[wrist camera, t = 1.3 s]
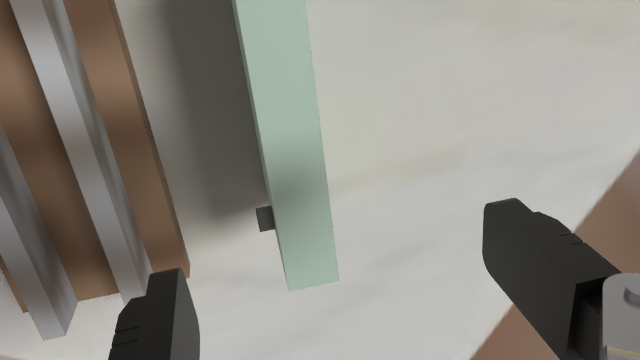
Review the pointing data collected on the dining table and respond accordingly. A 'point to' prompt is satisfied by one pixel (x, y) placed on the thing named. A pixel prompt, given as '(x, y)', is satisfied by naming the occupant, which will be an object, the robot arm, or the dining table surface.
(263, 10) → the door panel
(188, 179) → the dining table surface
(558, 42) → the dining table surface
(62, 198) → the door track
